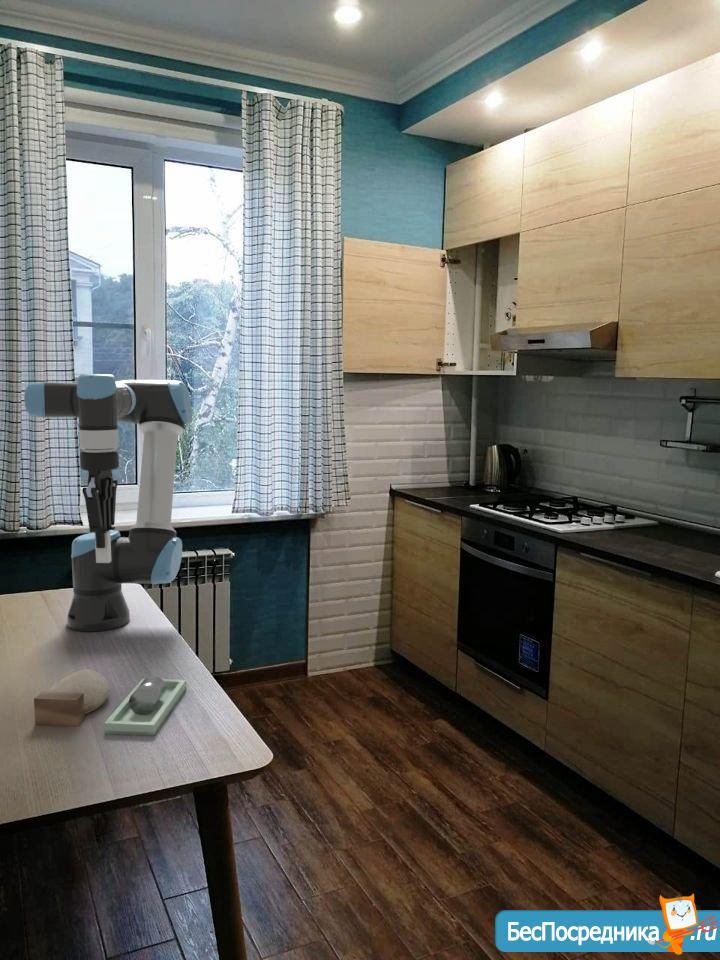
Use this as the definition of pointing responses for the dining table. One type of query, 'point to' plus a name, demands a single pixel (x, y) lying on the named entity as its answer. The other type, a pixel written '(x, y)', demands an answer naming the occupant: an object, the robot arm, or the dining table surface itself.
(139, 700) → the roller
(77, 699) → the block
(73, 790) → the dining table surface
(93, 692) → the stone
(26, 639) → the dining table surface
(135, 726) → the tray
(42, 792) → the dining table surface
